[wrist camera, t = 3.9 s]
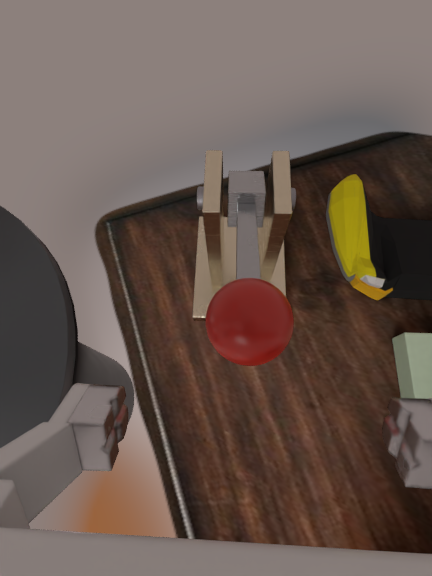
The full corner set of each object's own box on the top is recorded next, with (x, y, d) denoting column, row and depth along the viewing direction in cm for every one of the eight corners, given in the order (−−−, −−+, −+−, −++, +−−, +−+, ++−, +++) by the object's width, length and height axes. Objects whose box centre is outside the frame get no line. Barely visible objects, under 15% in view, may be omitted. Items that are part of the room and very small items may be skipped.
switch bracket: (284, 323, 29) (323, 260, 17) (193, 320, 30) (171, 256, 18) (281, 224, 33) (311, 115, 21) (200, 223, 33) (184, 114, 21)
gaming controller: (318, 205, 34) (321, 299, 30) (334, 166, 28) (340, 275, 25) (474, 212, 33) (496, 310, 29) (520, 174, 28) (553, 288, 24)
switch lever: (291, 384, 14) (306, 329, 11) (203, 381, 14) (199, 325, 11) (270, 212, 23) (275, 161, 21) (218, 211, 23) (217, 160, 21)
